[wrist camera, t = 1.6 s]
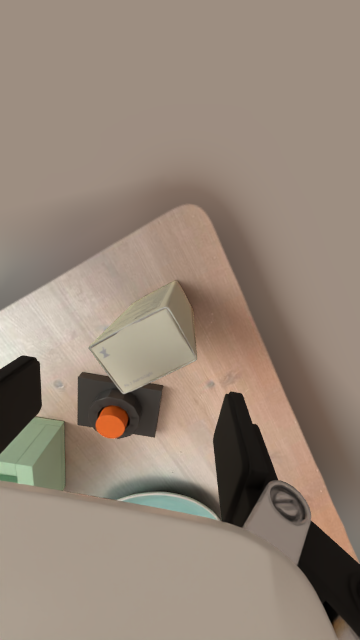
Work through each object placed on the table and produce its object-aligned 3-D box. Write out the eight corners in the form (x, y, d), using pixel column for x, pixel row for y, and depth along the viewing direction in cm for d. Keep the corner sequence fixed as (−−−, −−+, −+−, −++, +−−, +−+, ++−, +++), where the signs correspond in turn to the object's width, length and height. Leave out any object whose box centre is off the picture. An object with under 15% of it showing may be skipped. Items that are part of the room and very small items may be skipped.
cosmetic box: (150, 332, 27) (120, 398, 16) (130, 301, 26) (83, 348, 14) (195, 309, 26) (200, 362, 14) (177, 276, 25) (166, 304, 13)
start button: (100, 424, 29) (94, 435, 27) (101, 403, 28) (95, 413, 26) (127, 429, 29) (123, 440, 27) (129, 407, 28) (125, 418, 26)
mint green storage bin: (-18, 472, 37) (-63, 522, 30) (-31, 405, 32) (-88, 447, 26) (65, 485, 37) (38, 538, 30) (64, 421, 32) (32, 466, 26)
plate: (242, 492, 36) (246, 512, 33) (204, 566, 43) (205, 587, 40) (107, 462, 35) (101, 481, 32) (92, 543, 42) (85, 563, 39)
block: (81, 418, 32) (70, 435, 29) (82, 372, 29) (70, 385, 27) (155, 430, 32) (152, 448, 29) (163, 385, 30) (160, 400, 27)
